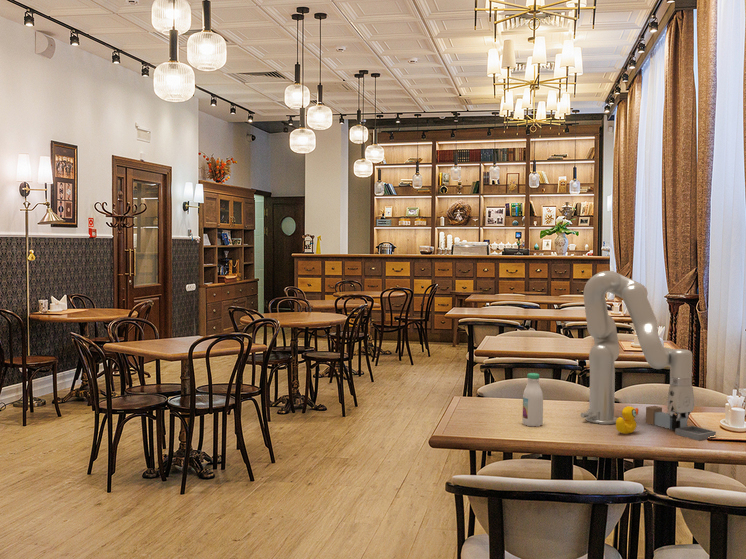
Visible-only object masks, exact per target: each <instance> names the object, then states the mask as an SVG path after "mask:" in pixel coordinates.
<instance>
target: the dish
mask: <svg viewBox="0 0 746 559" xmlns="http://www.w3.org/2000/svg"><path fill="white" fill-rule="evenodd" d="M716 433H717V431H715V430H712V429H707V428H704V427H699V426H695V425H687V427H681V428H676V429H675V431H674V434H675V435H677V436H681V437H684V438H687V437H688V438H689V439H691V440H695V441H703V440H708V437H710V436H714V435H716V436H717V434H716Z"/></svg>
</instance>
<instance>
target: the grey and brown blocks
mask: <svg viewBox="0 0 746 559" xmlns="http://www.w3.org/2000/svg"><path fill="white" fill-rule="evenodd" d="M646 423H648V424H647V425H650V424H652V425H651V426H656V425H658V426H657V427H659V426H662V427H661V428H663V427H665V428H664V429H667V428H669V429H668V430H672V419H671V417H670V416H669V415H668V414H667V412H664V411H663V407H662V406H658V405H650V406H646V407H645V424H646Z"/></svg>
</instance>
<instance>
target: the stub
mask: <svg viewBox="0 0 746 559" xmlns="http://www.w3.org/2000/svg"><path fill="white" fill-rule="evenodd" d="M679 421H680V428H681V427H687V426H688V419H687V418H685V417H681V416H680V417H679Z"/></svg>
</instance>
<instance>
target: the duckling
mask: <svg viewBox="0 0 746 559" xmlns="http://www.w3.org/2000/svg"><path fill="white" fill-rule="evenodd" d="M638 414H639V408H638V407H636V408H635V407H633V406H630V405H628V406H624V407H623V409H622V410H621V416H622V417H621V416H619V417H616V418H617V420H616V423H615V428H616V431H617V432H619V433H620V434H624V435H628V434H632V433H634V431H635V430H636V428H637V425H638V424H637V422H636V420H635V419H636V417H637V416H638Z"/></svg>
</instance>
